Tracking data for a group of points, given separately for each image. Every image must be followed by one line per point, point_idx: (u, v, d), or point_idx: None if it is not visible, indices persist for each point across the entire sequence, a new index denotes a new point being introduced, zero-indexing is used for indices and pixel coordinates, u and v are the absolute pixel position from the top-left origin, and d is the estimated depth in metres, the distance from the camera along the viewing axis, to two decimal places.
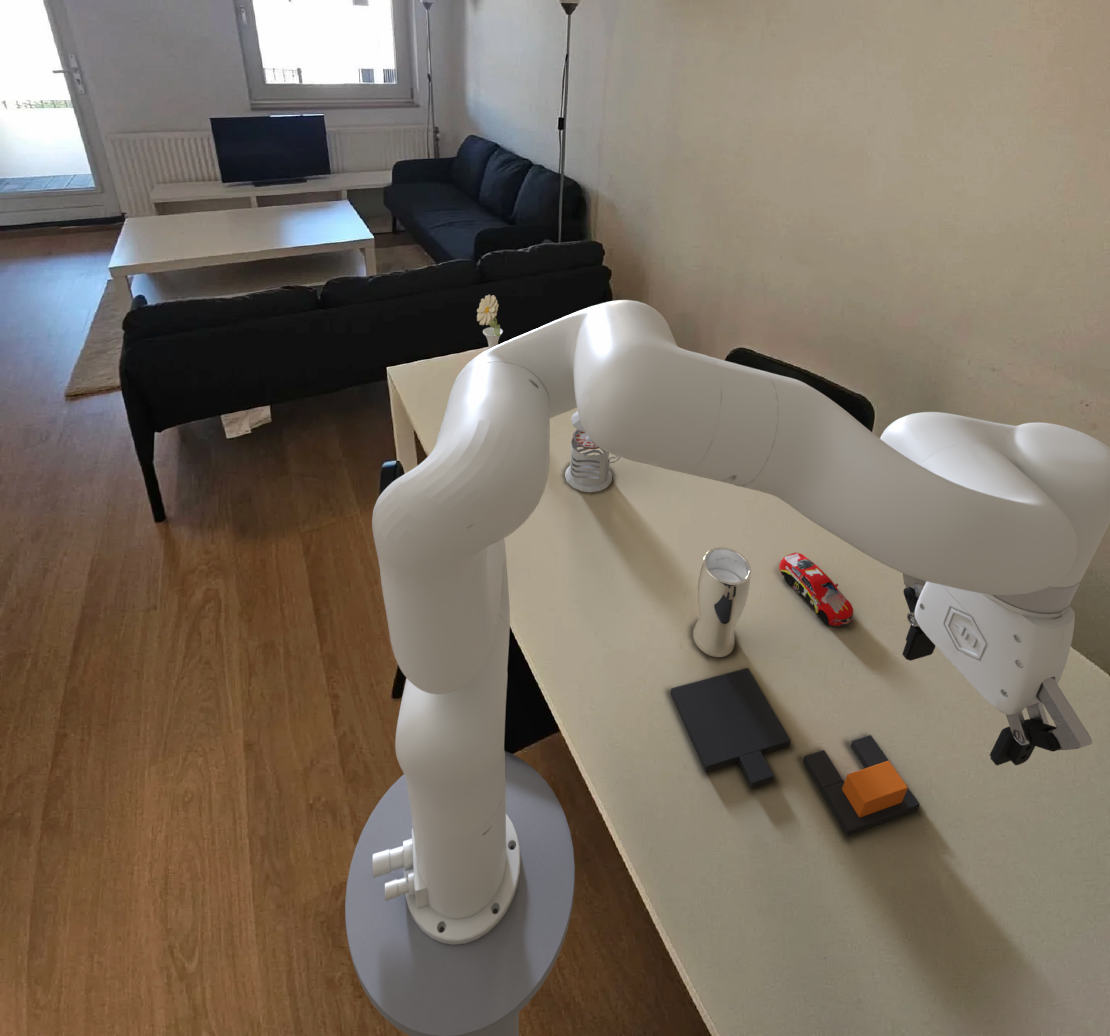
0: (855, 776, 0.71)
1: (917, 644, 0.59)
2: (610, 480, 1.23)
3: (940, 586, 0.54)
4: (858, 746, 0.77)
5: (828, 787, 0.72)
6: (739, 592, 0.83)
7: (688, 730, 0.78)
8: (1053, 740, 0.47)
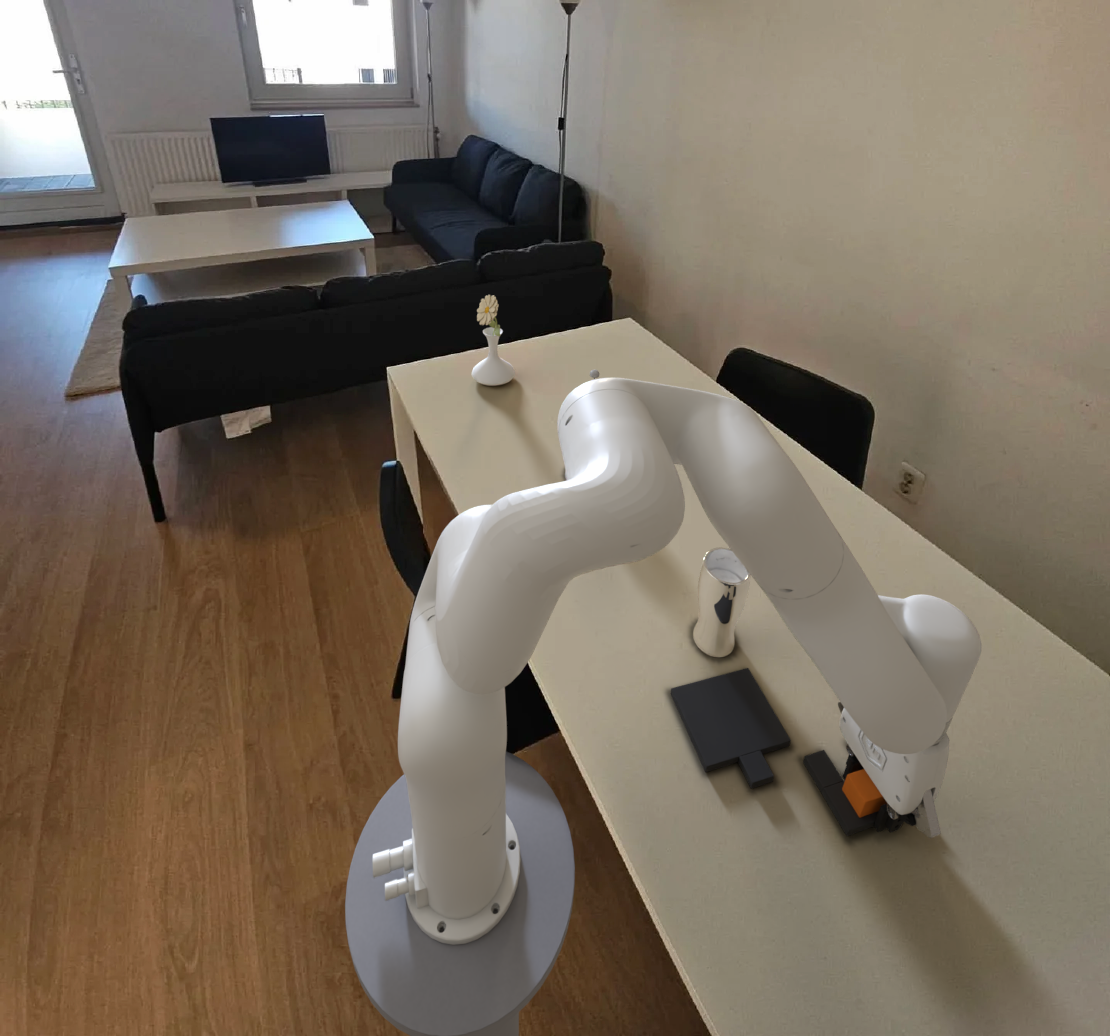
0: (855, 776, 0.71)
1: (854, 770, 0.73)
2: None
3: None
4: None
5: (828, 787, 0.72)
6: (739, 592, 0.83)
7: (688, 730, 0.78)
8: (913, 820, 0.65)
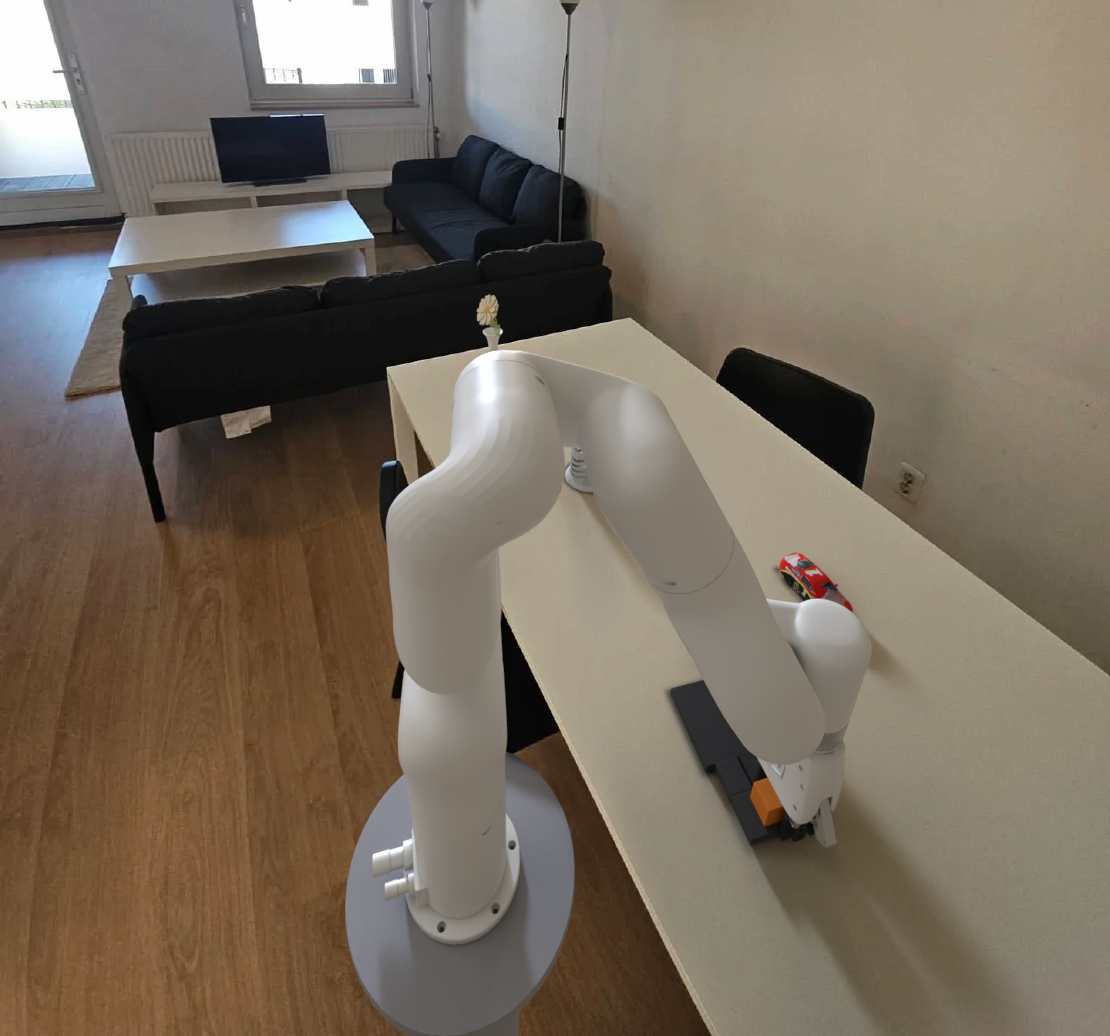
0: (762, 784, 0.69)
1: (763, 778, 0.71)
2: None
3: None
4: None
5: (736, 795, 0.71)
6: None
7: (688, 730, 0.78)
8: (811, 830, 0.63)
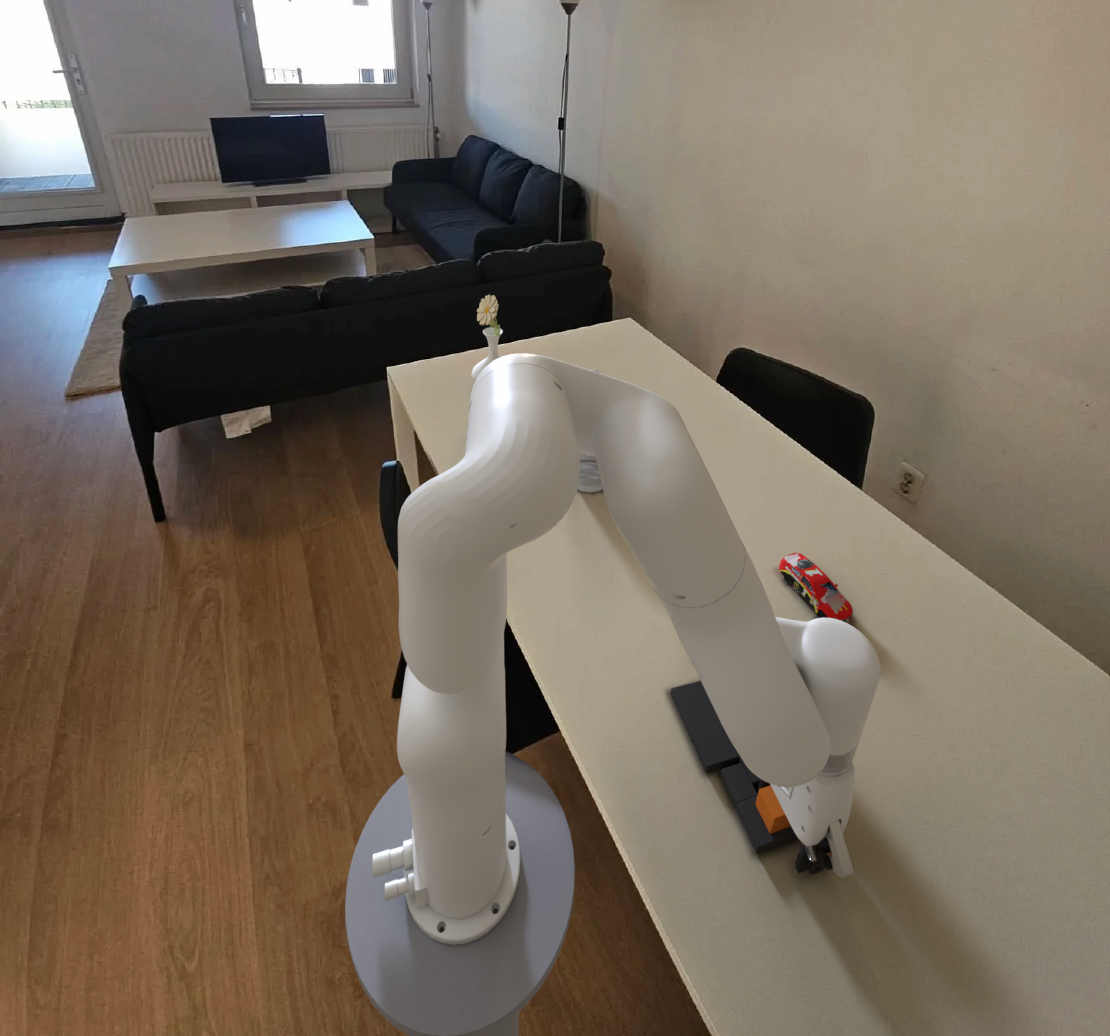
0: (767, 791, 0.69)
1: (767, 782, 0.71)
2: None
3: None
4: None
5: (741, 802, 0.71)
6: None
7: (688, 730, 0.78)
8: (828, 863, 0.61)
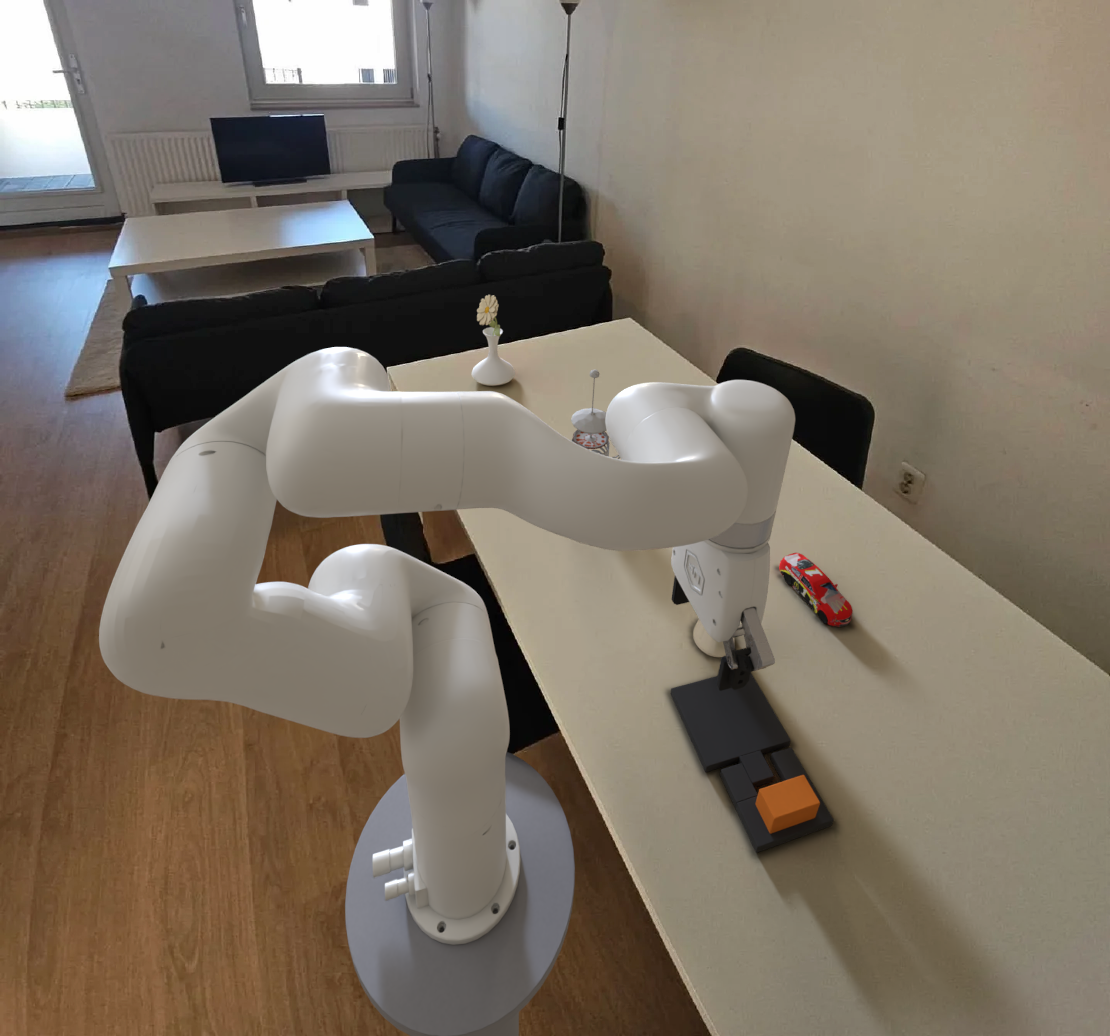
0: (767, 791, 0.69)
1: (680, 589, 0.65)
2: None
3: None
4: (777, 759, 0.75)
5: (741, 802, 0.71)
6: None
7: (688, 730, 0.78)
8: (749, 662, 0.53)
